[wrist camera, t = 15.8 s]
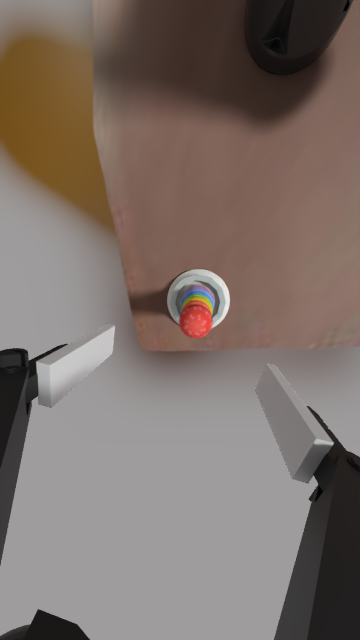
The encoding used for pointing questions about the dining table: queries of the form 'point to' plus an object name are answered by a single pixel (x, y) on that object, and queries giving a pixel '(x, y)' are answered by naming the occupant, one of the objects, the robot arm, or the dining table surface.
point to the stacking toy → (196, 311)
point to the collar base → (200, 278)
